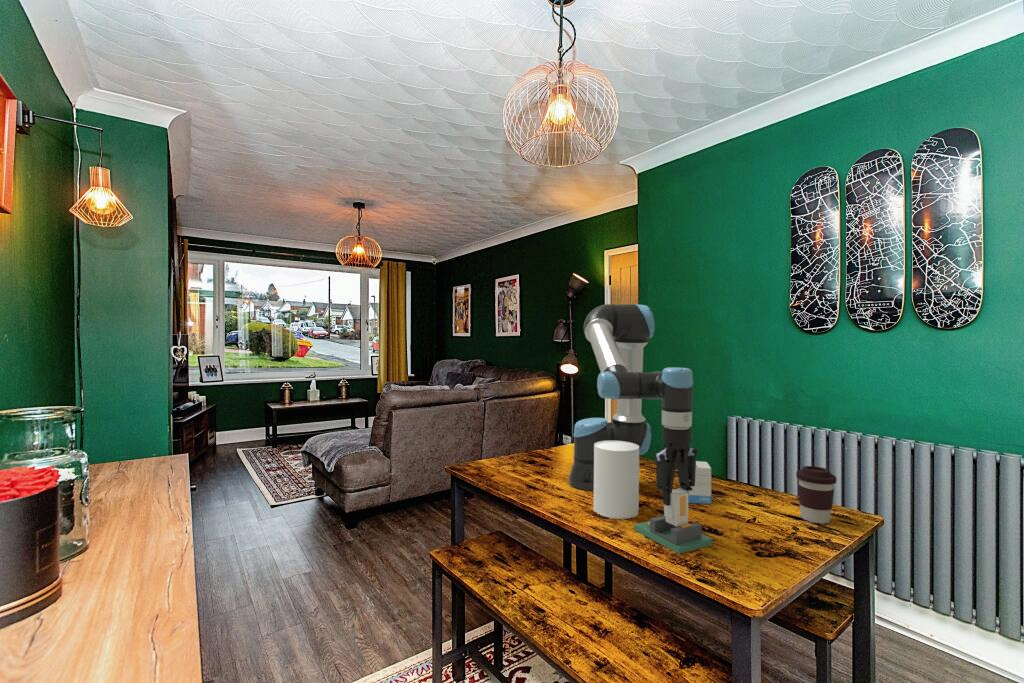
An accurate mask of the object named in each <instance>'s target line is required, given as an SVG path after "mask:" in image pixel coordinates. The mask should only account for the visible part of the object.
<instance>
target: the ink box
mask: <svg viewBox="0 0 1024 683" xmlns="http://www.w3.org/2000/svg"><path fill="white" fill-rule="evenodd" d="M689 481H691V480H689ZM691 488H692V490H691V491H689V495H688V504H706V505H712V467H711V466H710V464H709V463H708V462H707V461H700V460H699V461H698V460H696V470H695V486H694V487H693V486H691Z"/></svg>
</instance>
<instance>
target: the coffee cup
mask: <svg viewBox="0 0 1024 683" xmlns="http://www.w3.org/2000/svg"><path fill="white" fill-rule="evenodd" d="M795 474H796V475H795V477H796V478H797V479H798V484H797V487H798V488H797V489H798V490H797V491H798V503H799V506H800V507H799V508H800V517H801V518H802V520H804V521H806V520H807V522H810V523H813V524H818V523H819V524H818V525H820V524H821V525H823V524H824V525H825V523H826V524H828V523H830V522H831V514H832V509H833V504H834V503H833V502H834V493H835V489H834V488H835V487H834V486H835V484H837V476H836V475H834V474H832V473H831V471H830V470H829V469H828V468H826V467H820V466H816V465H805V466H802V468H801V469H799V470H796V473H795Z"/></svg>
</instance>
